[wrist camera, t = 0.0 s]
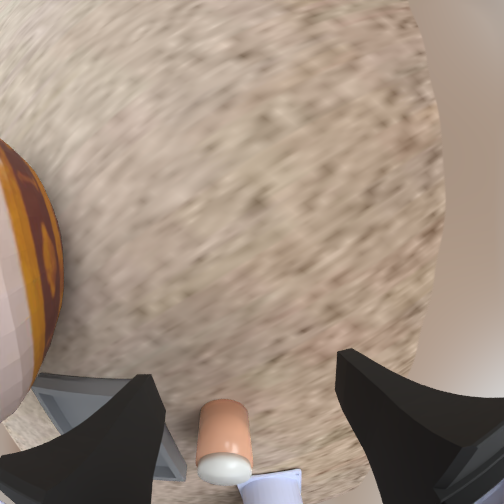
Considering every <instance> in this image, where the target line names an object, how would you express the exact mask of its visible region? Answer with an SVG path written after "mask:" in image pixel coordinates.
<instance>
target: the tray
mask: <svg viewBox="0 0 504 504" xmlns="http://www.w3.org/2000/svg"><path fill="white" fill-rule="evenodd" d="M130 380H131V379H105V378H87V377H74V376H64V375H55V374H47V373H40V374H39V376H38V377H37V378H36V379H35V381H34V383H33V385H32V387H31V388H32V390H33V392H34V394H35V395H36V397H37V399H38V401H39V402H40V404H41V405H42V407H43V409H44V410H45V412H46V413H47V415H48V416H49V418H50V419H51V421H52V422H53V424H54V425H55V427H56V428H57V430H58V431H59V432H60V434H61V435H63V434H65V433H66V432H68V431H70V430H71V429H73V428H74V427H76V426H78V425H79V424H80V423H82V422H83V421H85V420H86V419H87V418H89V417H90V416H91V415H92V414H94V413H95V412H96V411H97V410H98V409H100V408H101V407H102V406H103V405H104V404H106V403H107V402H108V401H109V400H110V399H111V398H112V397H113V396H114V395H115V394H116V393H118V392H119V391H120V390H121V389H122V388H123V387H124V386H125V385H126V384H127V383H128V382H129V381H130ZM186 471H187V464H186V463H185V461H184V459H183V457H182V455H181V454H180V452H179V450H178V448H177V446H176V444H175V442H174V440H173V438H172V436H171V434H170V432H169V430H168V428H167V426H166V424H164V432H163V437H162V441H161V445H160V449H159V454H158V458H157V462H156V466H155V471H154V476H153V480H165V481H185V480H186Z"/></svg>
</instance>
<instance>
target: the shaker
mask: <svg viewBox="0 0 504 504" xmlns="http://www.w3.org/2000/svg"><path fill="white" fill-rule="evenodd" d="M196 466H197V468H198V476H199V477H200V478H201V479H202V480H204V481H206V482H208V483H211V484H215V485H222V486H231V485H237V484H241V483H244V482H246V481H248V480H249V479H250V478H251V476H252V472H251V469H252V468H253V456H252V447H251V437H250V427H249V417H248V411H247V409H246V408H245V407H244V406H243V405H242V404H240V403H239V402H236V401H233V400H228V399H218V400H213V401H210V402H208V403H207V404H205V405H204V406H203V407H202V409H201V412H200V421H199V431H198V442H197V453H196Z"/></svg>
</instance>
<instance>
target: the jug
mask: <svg viewBox="0 0 504 504" xmlns="http://www.w3.org/2000/svg"><path fill="white" fill-rule="evenodd" d="M63 285H64V267H63V247H62V241H61V234H60V230H59V226H58V222H57V219H56V216H55V213H54V210H53V208H52V205H51V203H50V200H49V198H48V196H47V194H46V191H45V189H44V187H43V185H42V183H41V181H40V180H39V178H38V176H37V175H36V173H35V171H34V170H33V169H32V168H31V167H30V166H29V164H28V163H27V162H26V161H25V160H24V159H23V158H22V157H21V156H19V155H18V154H17V153H16V152H15V151H14V150H13V149H12V148H11V147H10V146H9V145H8V144H6V143H5V142H4V141H3V140H1V139H0V423H1V422H2V421H3V420H5V419H6V418H7V417H9V416H10V415H11V414H13V413H14V412H15V410H16V409H17V408H18V407H19V405H20V404H21V402H22V401H23V399H24V397H25V396H26V394H27V393H28V391H29V390H30V388H31V387H32V385H33V383H34V381H35V378H36V376H37V374H38V371H39V369H40V367H41V364H42V362H43V360H44V358H45V356H46V353H47V351H48V349H49V347H50V344H51V341H52V337H53V333H54V330H55V327H56V323H57V320H58V317H59V313H60V309H61V305H62V298H63Z"/></svg>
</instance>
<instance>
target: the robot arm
mask: <svg viewBox="0 0 504 504" xmlns="http://www.w3.org/2000/svg"><path fill="white" fill-rule="evenodd" d="M335 392H336V394H337V397H338V400H339V403H340V405H341V408H342V410H343V412H344V414H345V416H346V418H347V420H348V422H349V424H350V425H351V427H352V429H353V431H354V433H355V435H356V436H357V438H358V440H359V442H360V444H361V446H362V447H363V449H364V451H365V453H366V456H367V458H368V460H369V463H370V466H371V468H372V471H373V474H374V476H375V479H376V482H377V485H378V488H379V491H380V494H381V498H382V502H383V504H504V398H481V397H470V396H463V395H457V394H452V393H447V392H443V391H440V390H436V389H433V388H430V387H427V386H424V385H421V384H418V383H416V382H414V381H411V380H409V379H407V378H405V377H403V376H400V375H398V374H396V373H394V372H392V371H390V370H389V369H387V368H385V367H383V366H381V365H380V364H378V363H376V362H374V361H373V360H371V359H369V358H368V357H366V356H364V355H363V354H361V353H359V352H358V351H356V350H354V349H352V348H350V349H346V350H342V351H338V352H337V365H336V381H335ZM165 413H166V410H165V408H164V405H163V403H162V401H161V398H160V396H159V393H158V391H157V388H156V386H155V383H154V380H153V378H152V375H151V374H137V375H136V376H135V377H134V378H133V379H131V380H130V381H129V382H128V383H127V384H126V385H125V386H124V387H123V388H122V389H121V390H120V391H119V392H118V393H116V394H115V395H114V396H113V397H112V398H111V399H110V400H109V401H108V402H107V403H106V404H104V405H103V406H102V407H101V408H100V409H98V410H97V411H96V412H95V413H94V414H92V415H91V416H90V417H89V418H87V419H86V420H85V421H83V422H82V423H80V424H79V425H78V426H76V427H74V428H73V429H71V430H70V431H68V432H66V433H65V434H63V435H61V436H59V437H57V438H55V439H53V440H51V441H49V442H47V443H44V444H42V445H39V446H37V447H34V448H31V449H28V450H25V451H21V452H17V453H12V454H8V455H2V456H1V458H0V490H1V491H2V492H3V493H4V494H5V495H6V496H8V497H9V498H10V499H11V500H12V501H13V502H14V503H16V504H151V494H152V482H153V476H154V471H155V466H156V462H157V458H158V454H159V449H160V445H161V441H162V437H163V432H164V424H165ZM237 487H238V489H239V492H240V494H241V497H242V499H243V504H303V501H302V497H301V469H293V470H288V471H282V472H276V473H269V474H261V475H252V476H251V478H250V479H249V480H248V481H246V482H244V483H241V484H237ZM0 504H5V503H4V502H2V501H1V500H0Z"/></svg>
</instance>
